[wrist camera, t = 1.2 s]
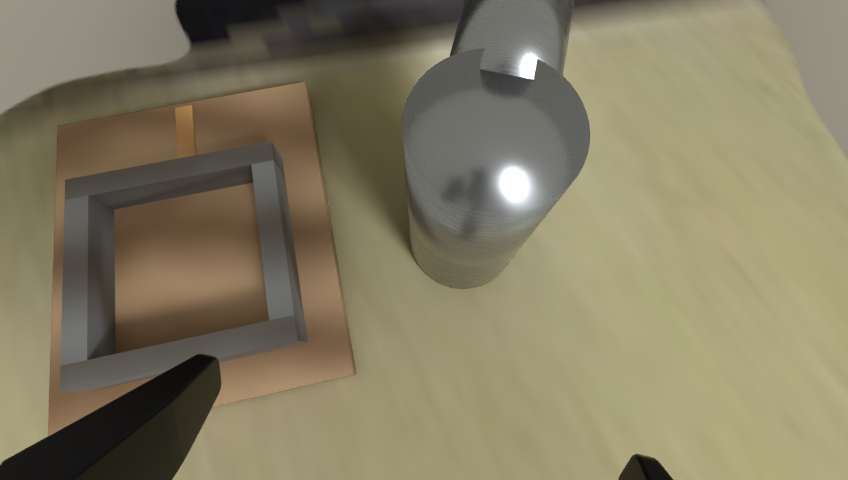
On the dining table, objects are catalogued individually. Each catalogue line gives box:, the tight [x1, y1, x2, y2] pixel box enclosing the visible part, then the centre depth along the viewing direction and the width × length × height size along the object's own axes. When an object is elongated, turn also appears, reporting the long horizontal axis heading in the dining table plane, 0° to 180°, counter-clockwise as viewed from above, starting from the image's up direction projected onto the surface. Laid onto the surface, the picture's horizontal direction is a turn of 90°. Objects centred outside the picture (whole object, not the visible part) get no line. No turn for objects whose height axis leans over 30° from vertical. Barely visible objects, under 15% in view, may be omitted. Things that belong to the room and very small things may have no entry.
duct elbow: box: [402, 0, 590, 289], centre depth 20 cm, size 10×6×12 cm, turn 167°
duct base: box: [48, 82, 356, 436], centre depth 24 cm, size 18×15×3 cm
